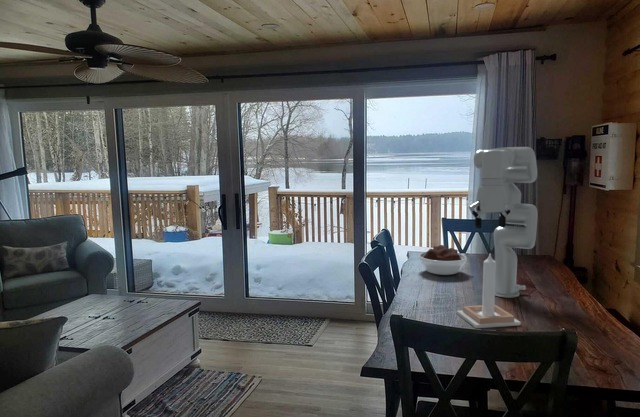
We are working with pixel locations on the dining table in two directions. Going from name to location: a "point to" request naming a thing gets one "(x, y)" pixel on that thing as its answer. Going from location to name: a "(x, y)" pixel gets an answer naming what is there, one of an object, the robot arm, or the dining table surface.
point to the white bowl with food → (442, 260)
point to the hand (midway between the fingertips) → (490, 227)
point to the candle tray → (483, 322)
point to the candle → (488, 288)
